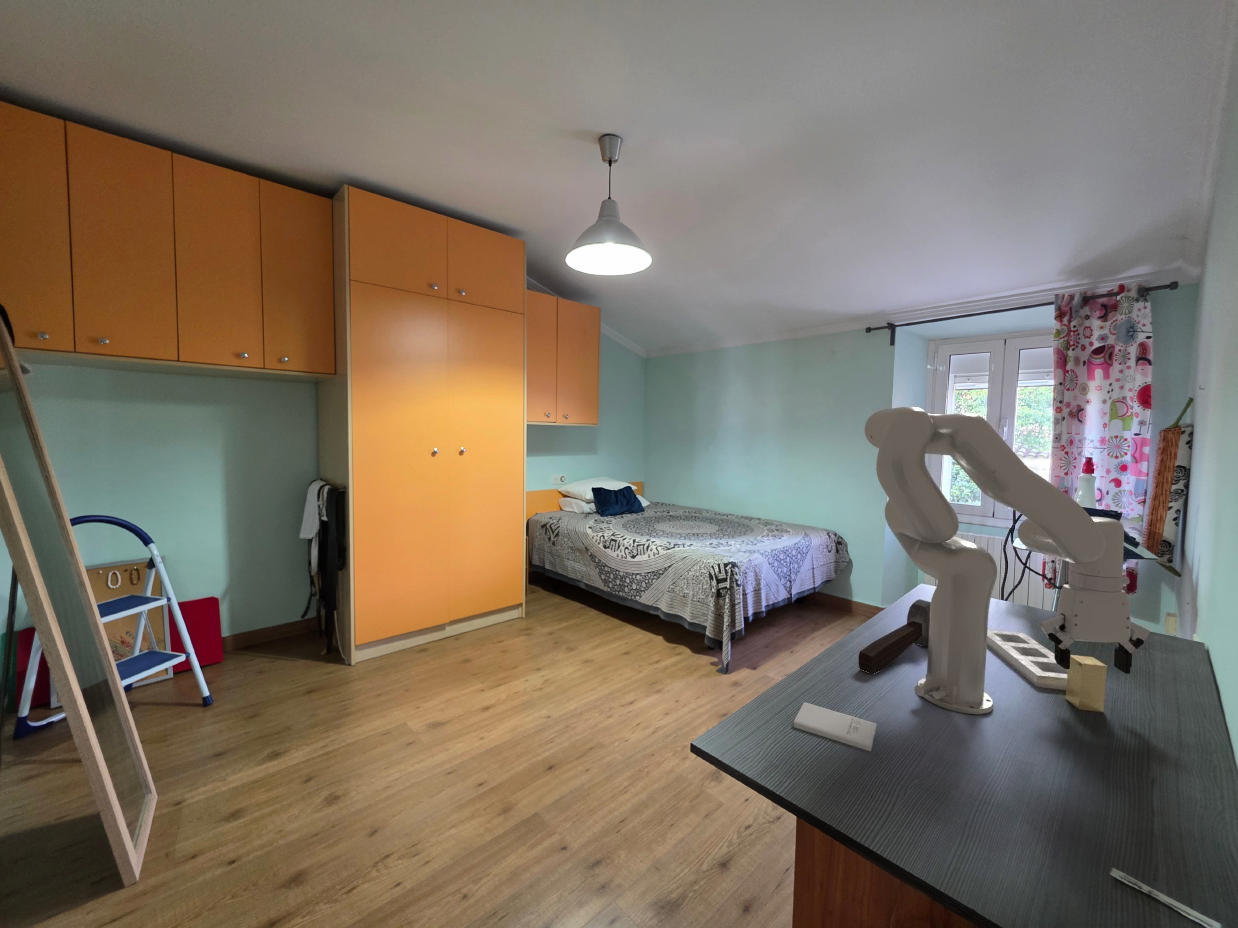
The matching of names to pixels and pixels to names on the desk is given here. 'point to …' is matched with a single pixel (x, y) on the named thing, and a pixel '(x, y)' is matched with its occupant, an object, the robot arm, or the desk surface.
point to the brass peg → (1086, 683)
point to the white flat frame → (1028, 658)
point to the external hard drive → (836, 726)
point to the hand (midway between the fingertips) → (1092, 668)
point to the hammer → (898, 639)
